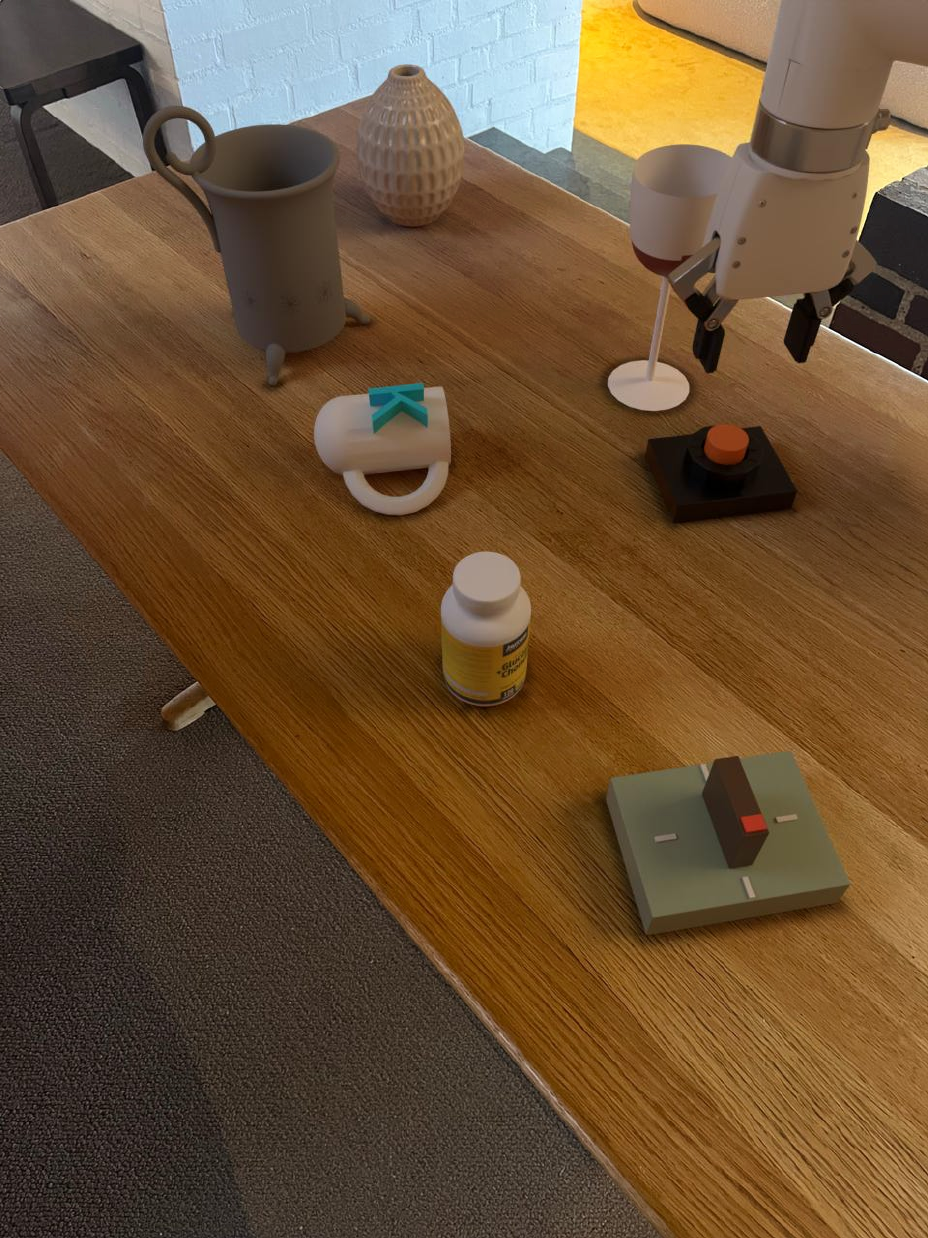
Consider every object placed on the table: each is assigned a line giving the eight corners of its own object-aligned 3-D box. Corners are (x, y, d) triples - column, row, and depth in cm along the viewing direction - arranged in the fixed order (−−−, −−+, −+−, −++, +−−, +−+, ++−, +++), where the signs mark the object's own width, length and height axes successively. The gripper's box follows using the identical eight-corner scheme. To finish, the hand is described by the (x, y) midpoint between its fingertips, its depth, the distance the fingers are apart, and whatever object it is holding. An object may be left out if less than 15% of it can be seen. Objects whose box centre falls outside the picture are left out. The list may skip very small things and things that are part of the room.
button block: (755, 443, 92) (765, 410, 89) (791, 508, 86) (803, 475, 83) (644, 456, 91) (650, 423, 87) (673, 523, 85) (681, 490, 82)
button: (736, 437, 87) (740, 421, 85) (750, 463, 85) (755, 448, 83) (698, 441, 86) (701, 426, 85) (711, 468, 84) (715, 452, 83)
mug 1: (350, 287, 109) (324, 46, 90) (391, 360, 100) (371, 111, 81) (185, 322, 105) (121, 77, 85) (213, 401, 96) (147, 149, 77)
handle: (701, 793, 65) (715, 757, 61) (723, 790, 65) (739, 753, 61) (728, 869, 61) (745, 835, 57) (752, 865, 61) (770, 831, 58)
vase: (341, 213, 119) (325, 69, 107) (418, 179, 125) (412, 38, 112) (408, 253, 113) (400, 105, 101) (486, 215, 119) (488, 71, 106)
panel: (780, 771, 69) (791, 748, 67) (837, 903, 63) (852, 883, 60) (605, 799, 68) (610, 776, 65) (645, 936, 61) (653, 917, 59)
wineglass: (587, 393, 97) (613, 178, 80) (632, 347, 102) (666, 134, 84) (665, 425, 93) (709, 208, 76) (708, 376, 98) (758, 161, 81)
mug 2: (304, 372, 82) (442, 359, 84) (313, 422, 91) (438, 409, 92) (318, 498, 79) (461, 482, 81) (326, 537, 88) (455, 522, 89)
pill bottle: (487, 725, 72) (490, 628, 63) (425, 678, 74) (419, 578, 65) (543, 673, 75) (553, 573, 66) (481, 629, 77) (483, 528, 68)
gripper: (906, 99, 67) (831, 321, 81) (667, 118, 65) (633, 342, 79) (958, 148, 63) (870, 374, 76) (703, 170, 61) (659, 398, 75)
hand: (749, 356), depth 78 cm, fingers open, 6 cm apart
